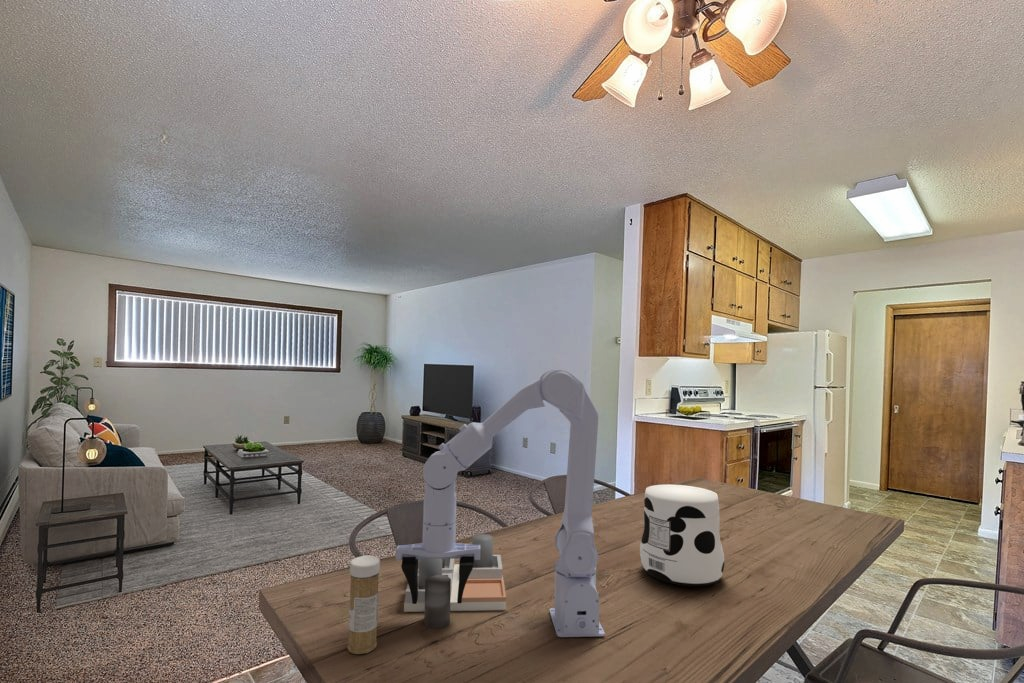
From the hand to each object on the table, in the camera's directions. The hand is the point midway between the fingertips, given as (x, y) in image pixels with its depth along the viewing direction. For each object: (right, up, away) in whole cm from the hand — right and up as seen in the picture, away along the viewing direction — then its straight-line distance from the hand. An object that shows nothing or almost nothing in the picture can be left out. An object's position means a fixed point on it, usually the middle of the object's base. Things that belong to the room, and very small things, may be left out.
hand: (437, 601), depth 88 cm
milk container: (+50, -6, +21) cm, 54 cm away
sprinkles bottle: (-10, -3, -9) cm, 14 cm away
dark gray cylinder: (0, -4, 0) cm, 4 cm away
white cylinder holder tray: (+2, -4, +13) cm, 14 cm away
